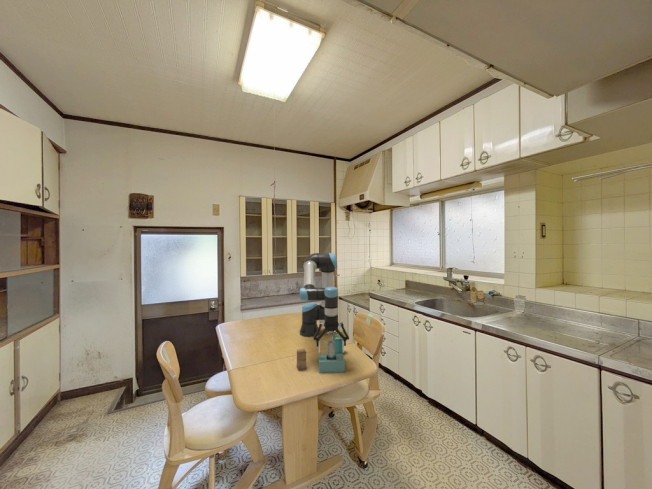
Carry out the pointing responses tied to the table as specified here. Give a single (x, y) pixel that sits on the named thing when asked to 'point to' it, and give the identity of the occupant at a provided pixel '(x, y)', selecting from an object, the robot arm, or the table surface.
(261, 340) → the table surface
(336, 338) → the cup
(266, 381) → the table surface
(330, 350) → the round dowel
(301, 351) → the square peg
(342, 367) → the socket block
